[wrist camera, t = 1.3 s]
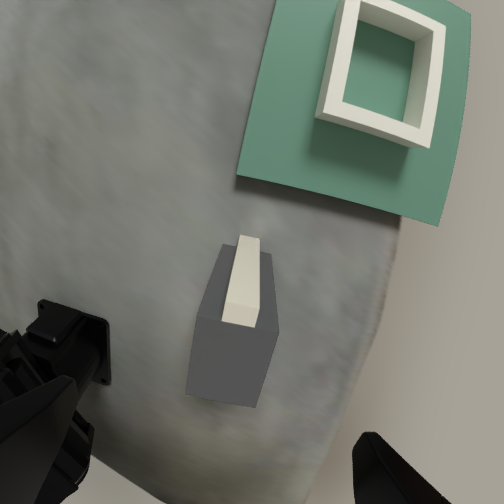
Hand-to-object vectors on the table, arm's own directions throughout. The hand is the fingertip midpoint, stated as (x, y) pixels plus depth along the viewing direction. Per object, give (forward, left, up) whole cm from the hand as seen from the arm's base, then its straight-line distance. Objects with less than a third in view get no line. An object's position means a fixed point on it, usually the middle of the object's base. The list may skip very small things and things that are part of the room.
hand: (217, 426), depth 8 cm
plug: (0, 0, -13) cm, 13 cm away
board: (+14, -5, -13) cm, 19 cm away
